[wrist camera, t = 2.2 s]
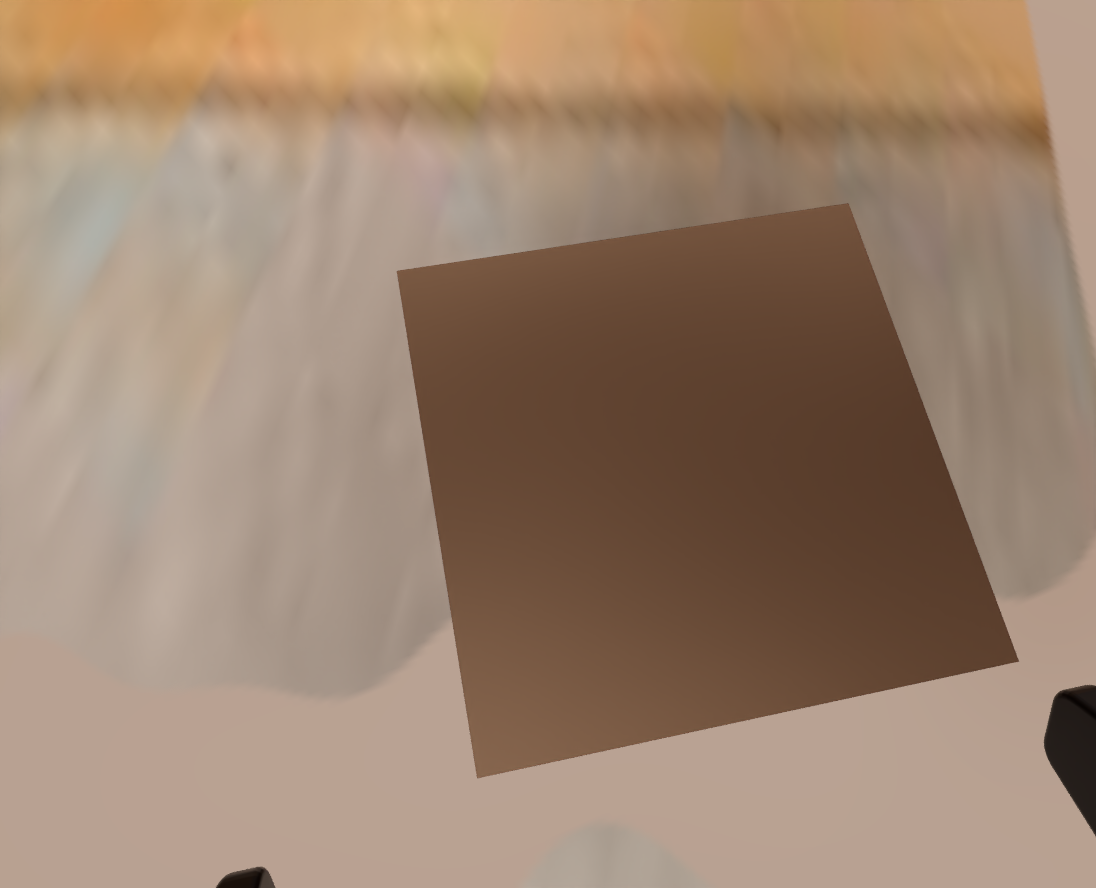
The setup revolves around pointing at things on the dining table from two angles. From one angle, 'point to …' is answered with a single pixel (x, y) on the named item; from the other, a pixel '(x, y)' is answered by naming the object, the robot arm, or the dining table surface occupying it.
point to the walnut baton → (684, 486)
